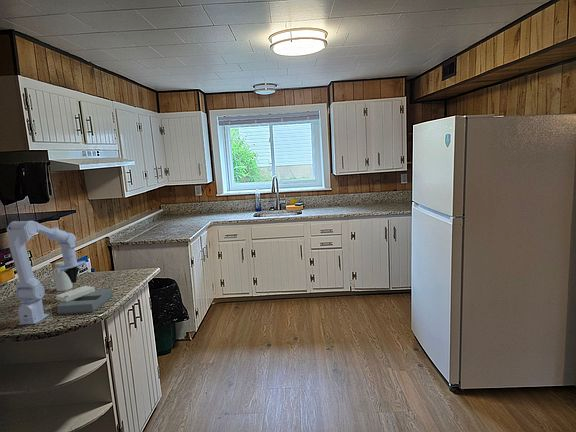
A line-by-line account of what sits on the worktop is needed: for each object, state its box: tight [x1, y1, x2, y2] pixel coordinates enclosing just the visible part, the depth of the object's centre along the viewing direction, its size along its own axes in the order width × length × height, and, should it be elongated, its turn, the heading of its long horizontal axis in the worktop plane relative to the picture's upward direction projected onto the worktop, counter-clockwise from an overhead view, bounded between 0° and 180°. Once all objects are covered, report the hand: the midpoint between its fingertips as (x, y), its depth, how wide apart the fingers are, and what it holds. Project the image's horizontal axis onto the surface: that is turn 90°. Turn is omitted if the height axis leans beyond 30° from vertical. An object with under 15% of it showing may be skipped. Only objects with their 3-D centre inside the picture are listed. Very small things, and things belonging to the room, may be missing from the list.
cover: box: [55, 285, 96, 302], centre depth 188 cm, size 8×14×2 cm, turn 150°
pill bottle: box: [52, 261, 73, 292], centre depth 211 cm, size 8×8×15 cm
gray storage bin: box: [56, 288, 114, 315], centre depth 186 cm, size 20×16×4 cm
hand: (73, 282), depth 196 cm, fingers closed
